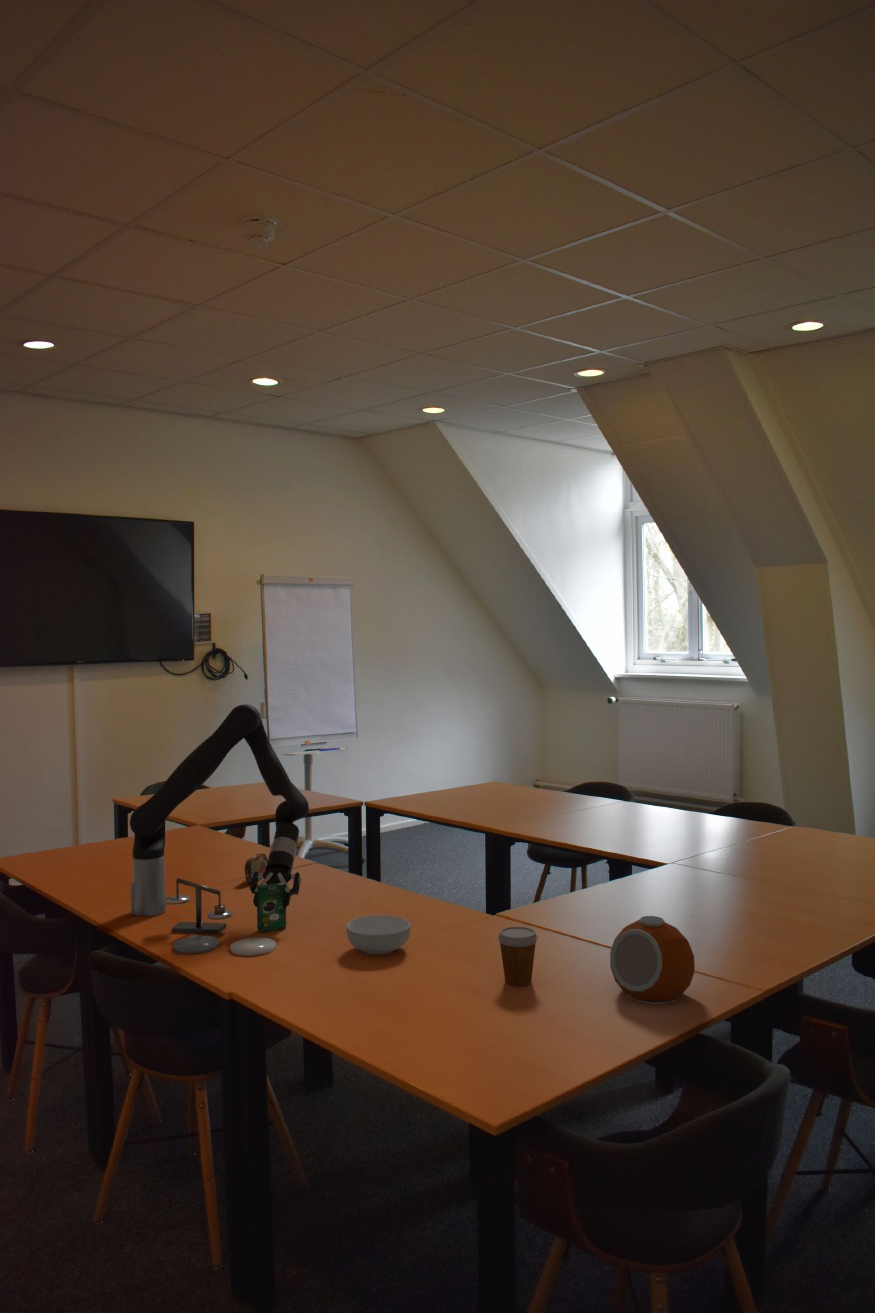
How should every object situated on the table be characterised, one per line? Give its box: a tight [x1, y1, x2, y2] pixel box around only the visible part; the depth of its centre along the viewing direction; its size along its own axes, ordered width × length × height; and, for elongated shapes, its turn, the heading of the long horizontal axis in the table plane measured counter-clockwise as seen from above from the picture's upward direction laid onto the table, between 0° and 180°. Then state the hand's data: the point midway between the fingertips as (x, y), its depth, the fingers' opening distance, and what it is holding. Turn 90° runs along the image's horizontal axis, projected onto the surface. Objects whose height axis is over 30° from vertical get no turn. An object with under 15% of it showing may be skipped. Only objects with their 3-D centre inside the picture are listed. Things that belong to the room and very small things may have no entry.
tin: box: [244, 852, 268, 884], centre depth 324 cm, size 15×3×8 cm, turn 168°
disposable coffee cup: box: [497, 925, 538, 987], centre depth 225 cm, size 10×10×12 cm
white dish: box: [229, 937, 277, 957], centre depth 252 cm, size 12×12×1 cm
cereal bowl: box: [346, 914, 411, 956], centre depth 249 cm, size 17×17×7 cm
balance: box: [165, 878, 233, 935], centre depth 269 cm, size 20×7×15 cm, turn 82°
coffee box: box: [256, 883, 287, 933], centre depth 268 cm, size 8×3×13 cm, turn 119°
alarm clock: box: [609, 915, 696, 1005], centre depth 216 cm, size 19×18×17 cm
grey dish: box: [173, 935, 220, 955], centre depth 254 cm, size 12×12×1 cm
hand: (270, 906), depth 266 cm, fingers closed on coffee box, 8 cm apart
